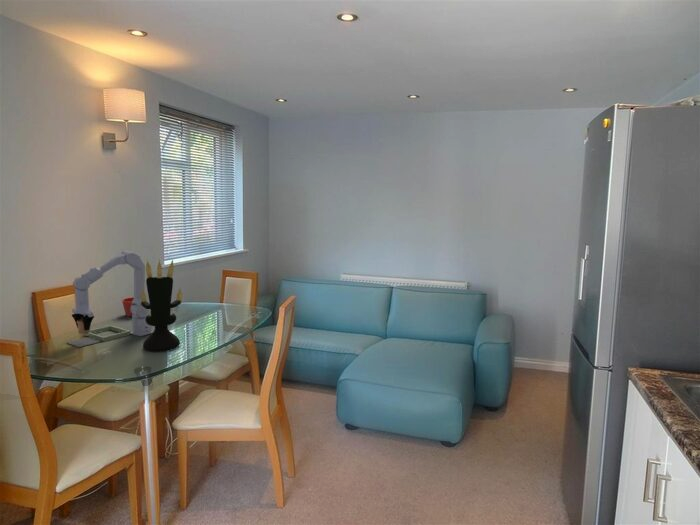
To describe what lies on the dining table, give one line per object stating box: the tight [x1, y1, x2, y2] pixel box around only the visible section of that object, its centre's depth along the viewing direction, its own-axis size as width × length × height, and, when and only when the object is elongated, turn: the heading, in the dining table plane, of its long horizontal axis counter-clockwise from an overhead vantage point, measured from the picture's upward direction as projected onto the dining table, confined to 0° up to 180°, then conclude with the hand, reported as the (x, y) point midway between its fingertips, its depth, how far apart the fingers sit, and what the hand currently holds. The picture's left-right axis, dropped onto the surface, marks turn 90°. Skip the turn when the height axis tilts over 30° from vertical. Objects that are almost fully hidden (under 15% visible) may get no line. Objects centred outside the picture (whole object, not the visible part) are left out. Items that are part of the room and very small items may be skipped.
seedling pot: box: [77, 319, 91, 335], centre depth 237 cm, size 6×6×6 cm
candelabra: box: [141, 259, 183, 353], centre depth 230 cm, size 19×22×45 cm
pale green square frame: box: [83, 325, 132, 342], centre depth 251 cm, size 17×15×2 cm
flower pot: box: [122, 296, 134, 317], centre depth 291 cm, size 11×11×10 cm
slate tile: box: [66, 336, 102, 349], centre depth 238 cm, size 11×11×1 cm
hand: (83, 328), depth 237 cm, fingers closed on seedling pot, 6 cm apart
